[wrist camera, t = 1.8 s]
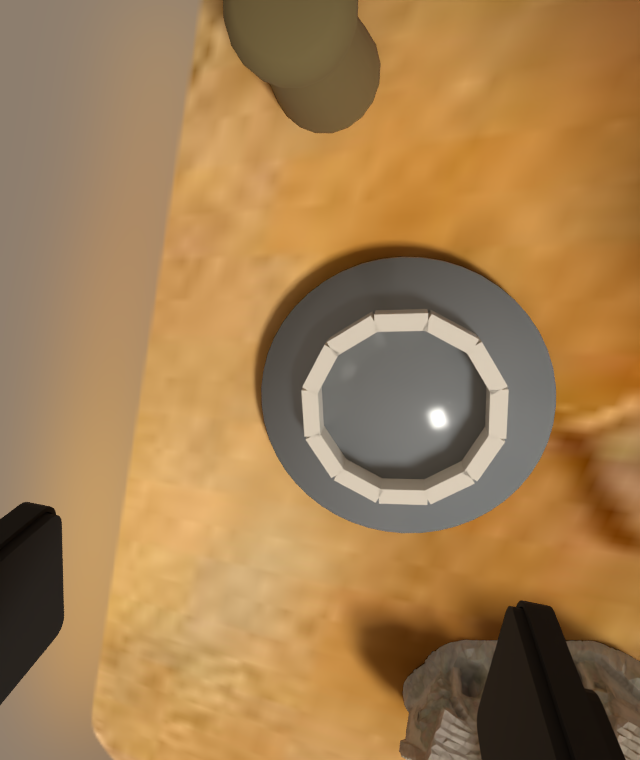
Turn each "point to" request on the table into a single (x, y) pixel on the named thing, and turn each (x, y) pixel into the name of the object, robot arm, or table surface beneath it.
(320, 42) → the cork
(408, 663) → the table surface
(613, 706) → the ceramic cottage
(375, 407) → the round tray
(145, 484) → the table surface
